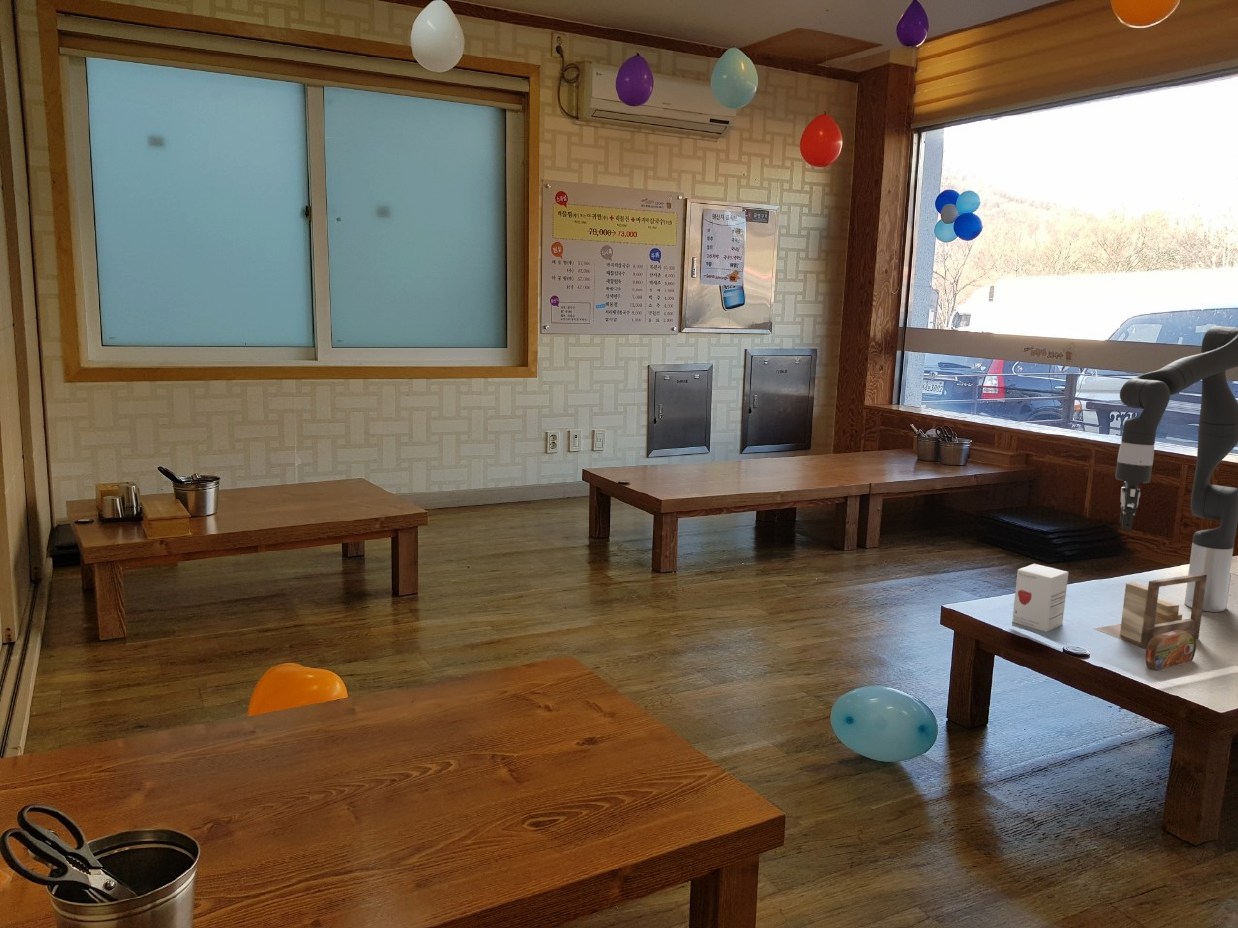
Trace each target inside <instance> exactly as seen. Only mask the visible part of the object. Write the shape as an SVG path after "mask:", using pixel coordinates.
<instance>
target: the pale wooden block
mask: <svg viewBox="0 0 1238 928" xmlns="http://www.w3.org/2000/svg"><path fill="white" fill-rule="evenodd" d="M1147 593H1148V584H1143V583H1140V582H1137V581H1132V582H1126V583H1125V589H1124V597H1123V605H1122V607H1123V608H1122V613H1121V621H1120V622H1121V623H1120V624H1121V629H1120V635H1122V636H1125V637H1127V638H1130V639H1133V640H1135V641H1138V642H1140V643H1141V642H1142V634H1143V626H1144V618H1145V610H1146V601H1147Z"/></svg>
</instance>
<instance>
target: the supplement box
mask: <svg viewBox="0 0 1238 928" xmlns="http://www.w3.org/2000/svg"><path fill="white" fill-rule="evenodd" d="M1068 580H1069V571H1066V570H1062V569H1058V568H1055V567H1051V566H1046V565H1041V564H1037V563H1032V564H1029V565H1027V566H1024V567H1021V568H1019V569H1017V573H1016V581H1015V593H1014V601H1013V603H1014V604H1013V611H1012V612H1013V613H1012V620H1011V621H1012V623H1011V626H1012V627H1014V628H1018V629H1021V630H1025V631H1028V632H1032V633H1036V632H1035V631H1032V630H1029V629H1027V628H1024V627H1023V626H1025V627H1028V628H1032V629H1036V630H1038V631H1039V630H1040V631H1042V632H1049V631H1052V630H1054V629H1056V628H1058V627H1060V626H1062V625H1063V622H1064V614H1065V613H1064V612H1065V604H1066V597H1067V596H1066V595H1067V587H1068ZM1021 625H1022V626H1021Z"/></svg>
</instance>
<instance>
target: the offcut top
mask: <svg viewBox="0 0 1238 928" xmlns="http://www.w3.org/2000/svg"><path fill="white" fill-rule="evenodd" d="M1179 610H1180V604H1177V603H1174V602H1172V601H1169V600H1167V599H1164V598H1158V601H1157V609H1156V612H1158V613H1161V614H1164V615H1166V616H1170V615H1178V613H1180V611H1179Z"/></svg>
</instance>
